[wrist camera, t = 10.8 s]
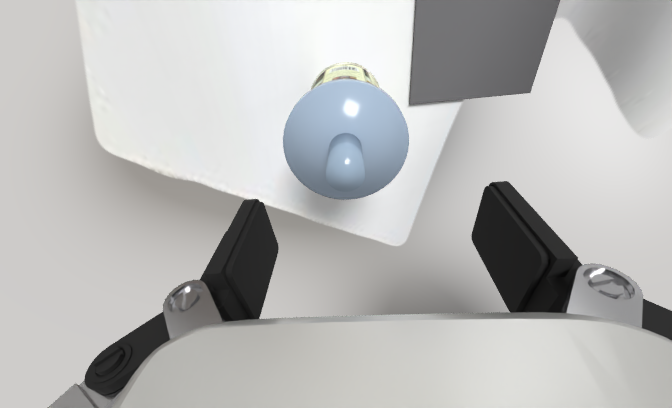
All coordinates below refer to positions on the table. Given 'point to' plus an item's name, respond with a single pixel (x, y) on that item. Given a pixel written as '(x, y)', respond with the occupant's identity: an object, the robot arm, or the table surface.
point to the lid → (346, 139)
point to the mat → (477, 47)
